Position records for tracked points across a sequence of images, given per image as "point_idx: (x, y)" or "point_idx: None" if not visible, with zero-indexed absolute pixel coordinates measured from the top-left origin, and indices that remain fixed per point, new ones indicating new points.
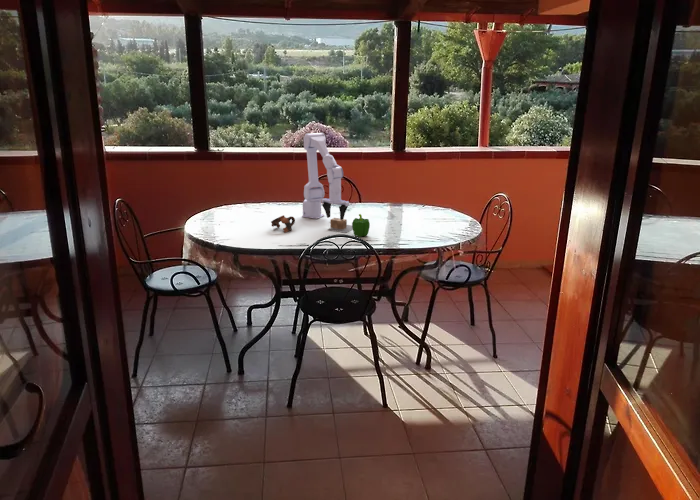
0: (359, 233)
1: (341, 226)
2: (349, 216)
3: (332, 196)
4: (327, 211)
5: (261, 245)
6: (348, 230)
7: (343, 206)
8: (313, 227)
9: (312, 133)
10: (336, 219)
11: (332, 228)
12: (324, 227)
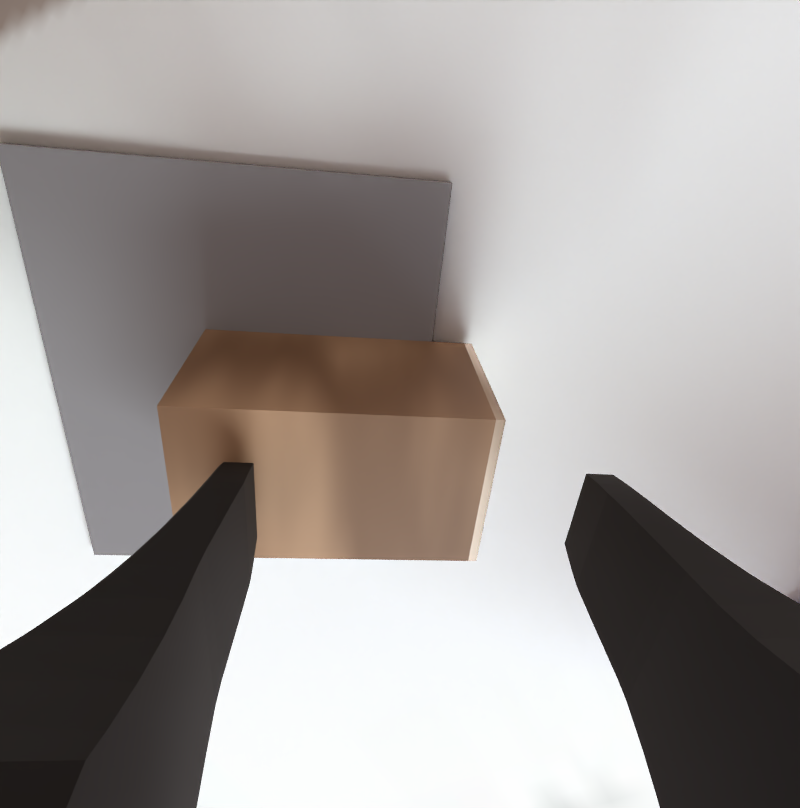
0: None
1: (222, 351)
2: (431, 789)
3: None
4: (675, 585)
5: None
6: (63, 306)
7: None
8: (783, 228)
9: None
10: (378, 480)
11: (407, 296)
12: (579, 314)
